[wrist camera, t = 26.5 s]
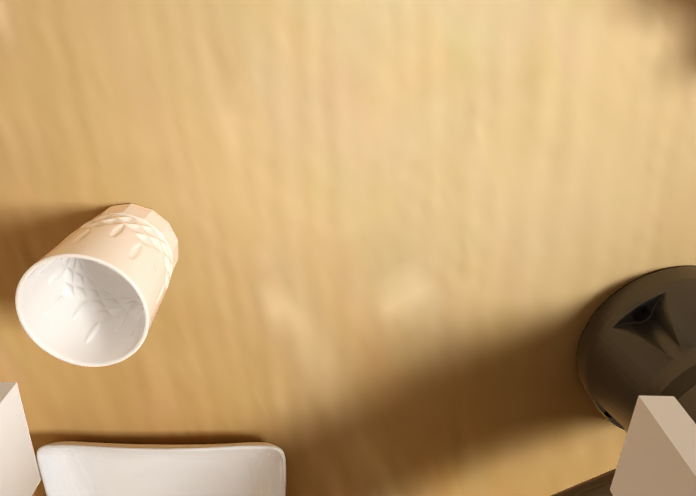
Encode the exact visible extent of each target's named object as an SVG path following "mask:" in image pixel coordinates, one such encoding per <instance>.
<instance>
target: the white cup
mask: <svg viewBox="0 0 696 496" xmlns="http://www.w3.org/2000/svg"><path fill="white" fill-rule="evenodd" d="M177 261H178V239H177V237H176V235H175V233H174V232H173V230H172V228H171V226H170V224H169V223H168V222H167V221H166V220H165V219H164V218H162V217H161V216H160V215H159V214H157V213H156V212H155V211H154V210H152V209H149V208H145V207H142V206H139V205H135V204H123V205H115V206H111V207H109V208H108V209H106V210H105V211H103V212H102V213H100V214H99V215H97V216H96V217H94V218H93V219H92V220H91V221H88V222H86V223H85V224H84V225H82V226H81V227H80V228H78V229H77V230H75V231H74V232H73V233H72V234H70V235H69V236H68V237H67V238H65V239H64V240H63V241H62V242H60V243H59V244H58V245H57V246H56V247H54V248H53V249H52V250H51V251H50V252H48V253H47V254H46V255H45V256H44V257H42V258H41V259H40V260H39V261H37V262H36V263H35V264H34V265H32V266H31V267H30V268H29V269H28V270H27V271H26V272H25V273H24V275H23V276H22V278H21V279H20V281H19V283H18V286H17V289H16V294H15V307H16V312H17V316H18V318H19V321H20V323H21V325H22V327H23V329H24V330H25V332H26V333H27V334H28V336H29V337H30V338H31V339H32V340H33V341H34V342H35V343H36V344H37V345H38V346H39V347H40V348H41V349H43V350H44V351H46V352H47V353H49V354H50V355H52V356H54V357H56V358H58V359H60V360H62V361H65V362H68V363H71V364H75V365H79V366H87V367H101V366H108V365H112V364H115V363H118V362H121V361H123V360H125V359H127V358H128V357H130V356H131V355H132V354H134V353H135V352H136V351H137V350H138V349H139V348H140V346H141V345H142V343H143V342H144V340H145V338H146V336H147V333H148V331H149V329H150V326H151V324H152V322H153V320H154V317H155V315H156V313H157V311H158V308H159V306H160V304H161V302H162V300H163V297H164V295H165V292H166V290H167V287H168V285H169V282H170V278H171V274H172V271H173V269H174V267H175V265H176V263H177Z"/></svg>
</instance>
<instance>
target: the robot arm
mask: <svg viewBox="0 0 696 496" xmlns="http://www.w3.org/2000/svg"><path fill="white" fill-rule="evenodd" d="M577 369H578V374H579V378H580V380H581V383H582V385H583V387H584V388H585V390H586V392H587V394H588V395H589V397H590V399H591V400H592V402H593V403H594V405H595V406H596V408H597V409H598V410H599V411H600V412H601V413H602V414H603V416H605V417H606V418H607V419H608V420H609V421H611V422H612V423H613V424H615V425H616V426H618V427H620V428H621V429H623V430H625V431H626V432H627V435H626V438H625V442H624V445H623V448H622V451H621V455H620V458H619V461H618V464H617V468H616V469H613V470H611V471H609V472H606V473H604V474H601V475H599V476H597V477H594V478H592V479H589V480H587V481H585V482H582V483H580V484H577V485H575V486H573V487H570V488H568V489H565V490H563V491H561V492H558V493H556V494H553V495H551V496H696V266H685V267H675V268H669V269H665V270H661V271H657V272H654V273H651V274H649V275H646V276H644V277H641V278H639V279H637V280H635V281H633V282H631V283H630V284H628V285H626V286H625V287H623V288H622V289H620V290H619V291H617V292H616V293H615V294H613V295H612V296H611V297H610V298H609V299H608V300H607V301H605V302H604V303H603V304H602V305H601V307H600V308H599V309H598V310H597V311H596V312H595V314H594V315H593V316H592V318H591V319H590V321H589V322H588V324H587V326H586V328H585V330H584V332H583V334H582V337H581V339H580V343H579V346H578V352H577ZM40 481H41V478H40V474H39V470H38V466H37V462H36V458H35V454H34V450H33V446H32V442H31V438H30V434H29V430H28V426H27V422H26V418H25V414H24V410H23V406H22V402H21V398H20V394H19V390H18V386H17V382H0V496H32V495H33V493H34V492H35V490H36V488H37V486H38V485H39V483H40Z"/></svg>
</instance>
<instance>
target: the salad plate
mask: <svg viewBox="0 0 696 496" xmlns="http://www.w3.org/2000/svg"><path fill="white" fill-rule="evenodd" d="M36 457H37V462H38V467H39V470H40V474H41V478H42V481H43V485H44V488H45V492H46V495H47V496H286V459H285V454H284V452H283V450H282V449H281V448H280V447H278V446H276V445H274V444H271V443H266V442H246V443H227V444H189V445H160V444H117V443H95V442H76V441H64V442H55V443H50V444H47V445H44V446H41V447H40V448H39V449H38V450H37V453H36Z"/></svg>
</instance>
